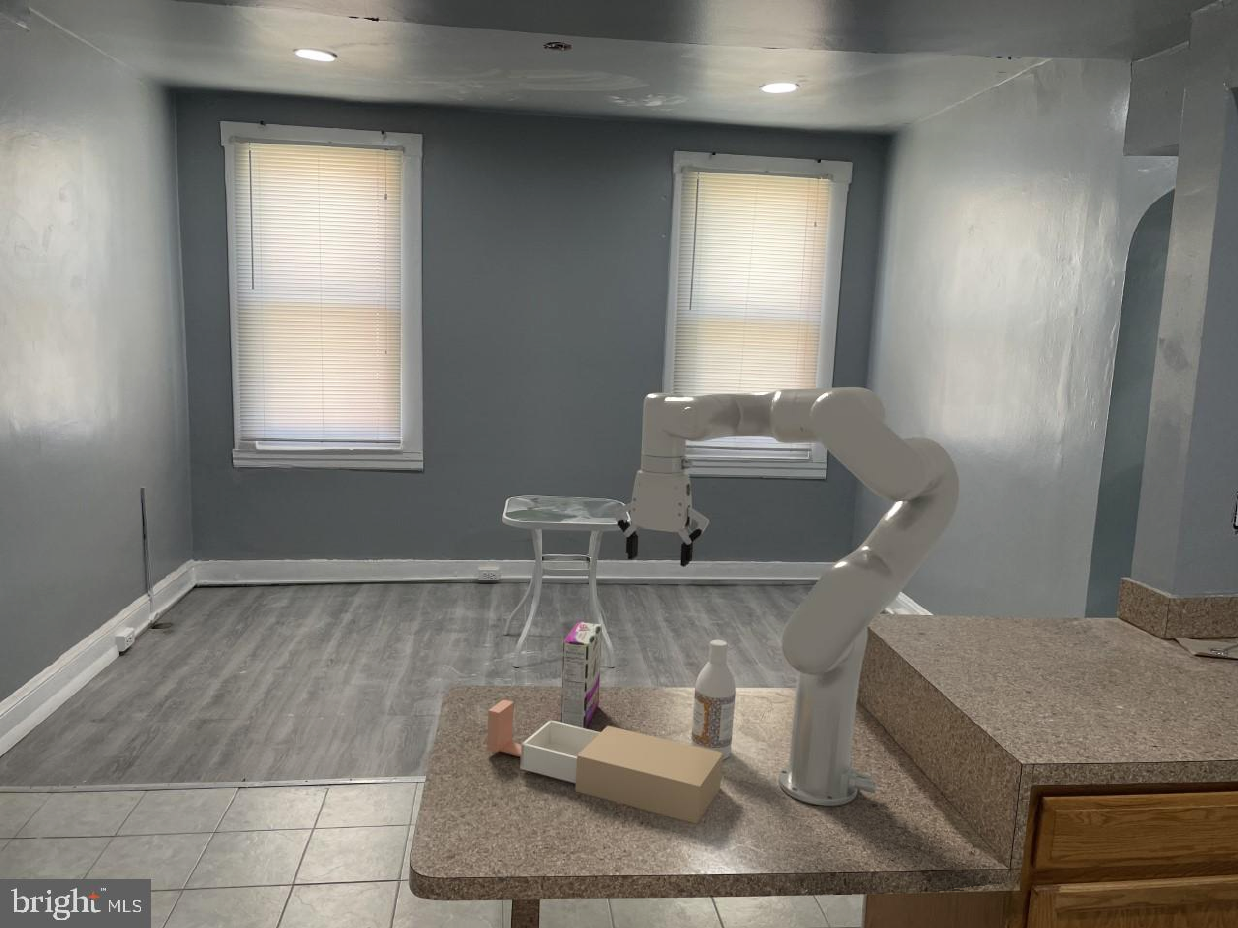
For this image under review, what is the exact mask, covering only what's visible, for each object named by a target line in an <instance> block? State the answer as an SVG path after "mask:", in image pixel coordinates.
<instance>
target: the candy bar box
mask: <svg viewBox="0 0 1238 928" xmlns="http://www.w3.org/2000/svg"><path fill="white" fill-rule="evenodd" d="M602 628H603V624H601V623H593V622H585V621H578V622H577V623H576V624H575V626H574V627H573V629H572V630H571V631H570V632H569V633H568V634H567V636H566V637H565V639H564V640H563V643H562V644H563V645H562V646H563V647H562V669H561V673H562V675H561V676H562V677H561V703H560V705H561V707H560V723H564V724H569V725H573V726H577V727H581V728H585V729H587V727H588V725H589V724H590V721H591V719H592V718H593V716H594V715H595V713H596V710H597V709H598V707H599V706H600V703H599V700H600V699H599V698H600V676H601V653H602V630H603V629H602Z"/></svg>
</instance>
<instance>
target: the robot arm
mask: <svg viewBox="0 0 1238 928" xmlns="http://www.w3.org/2000/svg"><path fill="white" fill-rule="evenodd" d="M642 407H643V410H642V411H643V412H642V413H643V414H642V433H641V434H642V436H641V456H640V457H641V458H640V459H641V460H640V461H641V462H640V469H639V470H637V472H636V476H635V479H634V484H633V485H634V486H633V489H632V494H631V495H632V496H631V502H629V503H625V504H623V505H621V506H620V507H616V508H615V509H613V511H612V515H613V516H614V518H615V520H616V522H617V526H618V527H619V529H621V532H623V535H624V536H625V538H626V541H625V544H626V545H625V553H626V554H627V560H634V559H635V558H636V557H638V553H639V535H638V533H637V532H638V530H639V529H644V530H645V529H646V530H654V531H661V532H670V533H678V535H679V536H680V538H681V539H682V541H683V543H681V545H680V561H679V564H680V567H683V568H685V567H686V566H688V565H689V564H690V562H691V561H692V559H693V548H694V547H693V546H694V545H693V544H694V542H695V541H696V540H697V539H699V537H701V536H702V535H703V534H704V533H705V530H706V529H707V527H708V525H709V524H710V519H709V518H707V517H706V516H705V515H703V514H702V513H700V512H699V511H697V510H696V509H695V508H693V502H692V500H693V499H692V487H691V479H690V474H689V473H687V472H685V471H686V470H688V469H692V468H693V465H694V463H693V460H689V459H688V458H687V455H686V445H687V444H686V443H687V441H689V442H705V441H711V440H715V439H723V438H731V437H735V438H736V437H765V438H773V439H775V440H776V441H777V442H778V443H784V444H801V443H802V444H803V443H804V444H806V443H807V444H811V443H814V444H815V443H816V444H817V443H818V444H822V446H823V447H824V448H826V449H827V450H828V451H829V453H830V454H831V455H832V456H834V457H835V458H836V459H837V460H838V461H839V462H840V463H841V464H842V465H843V466H844V467H845V468H846V469H847V470H849V471H850V473H852V474H853V475H854V476H855V477H856V478H857V480H859V481H860V482H861V483H862V484H863V485H864V486H866V487H867V488H868V489H869V490H870V491H871V492H872V493H874V494H875V495H877V496H878V497H881V498H882V499H884V500H887V501H889V502H894V503H893V504H892V506H891V507H890V508H889V510H888V511H886V513H884V515H883V516H882V517H881V519H880V520H879V522H878V523H877V524H876V526H875V527H874V529H873V530H872V531H871V533H870V534H869V535H868V536H867V538H865V540H864V541H863V542H862V544H861V545H860V546H858V547H857V549H856V550H853V552H851V553H850V554H848V555H846V556H844V557H843V558H841V559H839V560H837V561H836V562H834V563H833V564H832V565H831V566H830V567H828V569H826V570H825V572H824V573H823V574H822V575H821V577H820V578H819V579H818V580H817V581H816V583H815V584H814V586H812V588H811V590H810V591H809V592H808V593H807V594H806V596H805V597H804V599H803V600H802V602H801V603H800V604H798V607H797V608H796V609H795V611H794V612H793V614H791V616H790V617H789V619H788V620H787V622H786V624H785V625H784V627H783V629H782V632H781V638H780V640H781V642H780V644H781V650H782V654H783V656H784V658H785V660H786V662H787V664H789V665H790V667H792V668H793V669H794V670H795V671H797V679H796V690H795V700H794V707H793V709H794V711H793V719H792V721H793V722H792V731H791V742H790V753H789V764H787V765H785V766H783V767H782V768H780V770H779V773H778V778H777V779H778V780H777V781H778V782H777V783H778V785H779V786H780V788H781V789H782V790H783V791H784V792H785V793H786V794H788V795H789V796H791V797H792V798H794V799H796V800H798V801H801V802H804V803H807V804H812V805H816V806H824V807H834V806H842V805H845V804H848V803H850V802H852V801H853V800H855V798H856V797H857V795H858V790H861V791H863V792H867V793H870V794H876V793H877V789H878V788H877V787H878V781H877V780H872V773H867V772H860V771H857V769H855V768H854V764H855V760H853V759H851V757H852V749H853V748H852V747H853V740H854V739H853V738H854V727H855V720H856V719H855V718H856V709H857V708H856V707H857V702H858V693H859V685H860V683H859V682H860V676H861V673H862V672H861V669H862V666H863V660H864V657H865V652H866V645H867V640H868V633H869V631H868V627H869V626H870V625H871V623H872V622H873V621H874V620H875V619H876V618H877V617H878V616H879V614H881V613H882V612H883V611H885V610H886V609H887V608H888V607H889V606H891V604H892V603H894V601H896V599H897V598H898V596H899V595H900V593H901V592H902V590H903V589H904V587H905V586H906V585H907V583H908V582H909V580H910V579H911V578H912V577H913V576H914V574H915V573H916V571H917V570H918V569H919V568H920V566H921V565H922V564H923V562H924V561H925V560H926V558H927V557H928V556H929V554H930V553H931V552H932V550H933V549H934V548H935V546H936V545H937V543H938V542H939V541H940V540H941V538H942V537H943V536H944V534H945V533H946V531H947V530H948V528H949V526H950V524H951V522H952V521H953V519H954V515H955V513H956V510H957V507H958V503H959V497H960V479H959V473H958V471H957V468H956V465H955V463H954V460H953V458H952V457H951V455H950V454H949V452H948V451H947V450H946V448H944V447H943V446H942V445H941V444H940V443H939V442H937V441H935V440H934V439H930V438H928V437H921V436H914V437H908V438H903V439H902V438H901V437H900V436H899V435H898V434H897V433H896V432H895V431H894V430H892V428H890V427H889V426H888V425H887V424H885V419H886V410H885V405H884V403H883V400H882V399H881V398H880V396H879V395H878V394H877V393H876V392H874V391H873V390H871V389H869V388H864V387H859V386H847V387H846V386H844V387H843V386H842V387H840V386H839V387H820V388H819V387H816V388H814V387H813V388H783V389H776V390H774V391H768V392H765V391H764V392H741V393H738V392H736V393H735V392H734V393H713V394H711V393H710V394H703V395H694V396H691V395H690V396H684V395H683V394H680V393H673V392H653V393H649V394H647V395H646V396H645V398H644V400H643V406H642ZM628 512H630V523H629V521H628V520H627V519H626V518H625V513H628ZM692 520H693V521H695V522H696V523H697V527H696V528H695V529H694V531H692V530H691V528H690V526H691V525H692Z"/></svg>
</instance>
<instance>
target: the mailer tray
mask: <svg viewBox="0 0 1238 928" xmlns="http://www.w3.org/2000/svg"><path fill="white" fill-rule="evenodd" d="M514 704H515V702H514V701H513V700H512V701H511V700H508V699H507V700H506V699H502V700H500V702H497V703H496V704H495V705H493V706H492V707H491V708H490V709H488V711H487V714H488V715H487V736H486V737H487V741H486V742H487V743H486V750H487V751H490V752H494V753H499V752H502V753H505V754H508V755H509V754H510V755H513V756H515V757H516V756H517V757H520V762H519V763H520V768H519V769H521V770H524V771H527V772H532V773H536V774H539V775H542V776H547V777H551V778H554V779H558V780H562V781H565V782H570V783H573V784H576V768H577V755H578V754H579V753H580V752H581V751H582V750H583V749H584V748H585V747H586V746H587V745H588V744H589V743H590V742H591V741H592V740H593V739H594V738H596V737H597V736H598V735H599V734H600V733H601V732H602V731H596V730H594V729H589V728H586V729H585V728H581V727H577V726H573V725H569V724H564V723H561V721H560V722H559V721H555V720H551V719H549V720H548V721H547V722H546V723H545V724H544V725H542V726H541V727H540V728H538V730H536V731H535V732H534V733H532V735H530V736H529V737H527V739H525V741H523V742H522V743H521V744H519V743H516V742H512V741H513V733H514V729H513V728H514V727H513V726H514Z"/></svg>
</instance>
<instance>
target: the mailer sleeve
mask: <svg viewBox="0 0 1238 928" xmlns="http://www.w3.org/2000/svg"><path fill="white" fill-rule="evenodd" d="M600 732H601V733H600V734H599V735H598V736H597V737H596V738H594V739H593V740H592V741H591V742H590V743H589V744H588V745H587V746H586V747H585V748H584V749H583V750H582V751H581V752H580V753H579V754H578V755H577V768H576V783H575V789H574V790H575V792H577V793H581V794H583V795H588V796H592V797H595V798H599V799H601V800H602V799H603V800H606V801H610V802H614V803H618V804H621V805H625V806H628V807H629V806H630V807H633V808H635V809H636V808H637V809H640V810H643V811H644V810H645V811H647V812H652V813H653V814H654V813H655V814H659V815H662V816H666V817H671V818H673V819H677V820H680V821H684V822H688V823H692V824H696V825H698V824H699V821H701V819H702V817H703V816H704V815H705V813H706V811H707V810H708V808H709V807H710V805H711V803H712V802H713V800H714V798H715V797H716V796H717V794H718V792H719V791H720V789H721V783H722V772H723V753H721V752H717V751H713V750H708V749H704V748H700V747H696V746H692V745H691V744H687V743H683V742H678V741H674V740H669V739H666V738H662V737H658V736H653V735H649V734H646V733H645V734H644V733H641V732H637V731H632V730H627V729H623V728H619V727H615V726H611V725H606V726H605V728H603V730H602V731H600Z"/></svg>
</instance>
